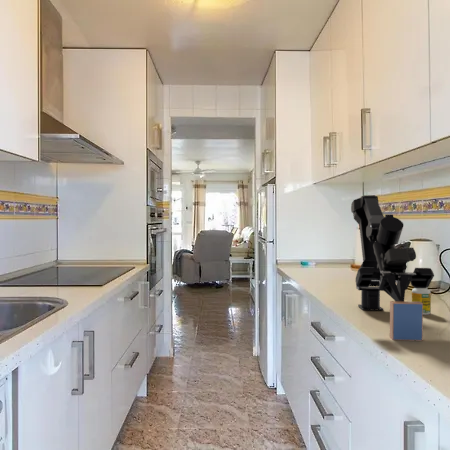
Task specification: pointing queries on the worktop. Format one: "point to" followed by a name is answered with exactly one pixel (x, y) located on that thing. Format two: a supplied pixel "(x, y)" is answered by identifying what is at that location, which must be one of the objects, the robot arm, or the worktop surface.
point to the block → (406, 320)
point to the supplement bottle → (422, 298)
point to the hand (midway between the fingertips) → (401, 304)
